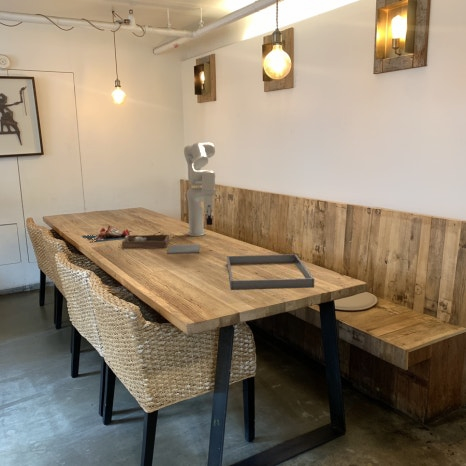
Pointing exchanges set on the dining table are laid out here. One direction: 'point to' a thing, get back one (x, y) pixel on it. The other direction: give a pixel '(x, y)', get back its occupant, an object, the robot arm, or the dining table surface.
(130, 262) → the dining table surface
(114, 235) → the platter
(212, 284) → the dining table surface
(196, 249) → the slate mat
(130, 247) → the walnut tray
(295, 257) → the charcoal rectangular open frame
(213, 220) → the terracotta block
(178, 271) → the dining table surface
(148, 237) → the reed diffuser
